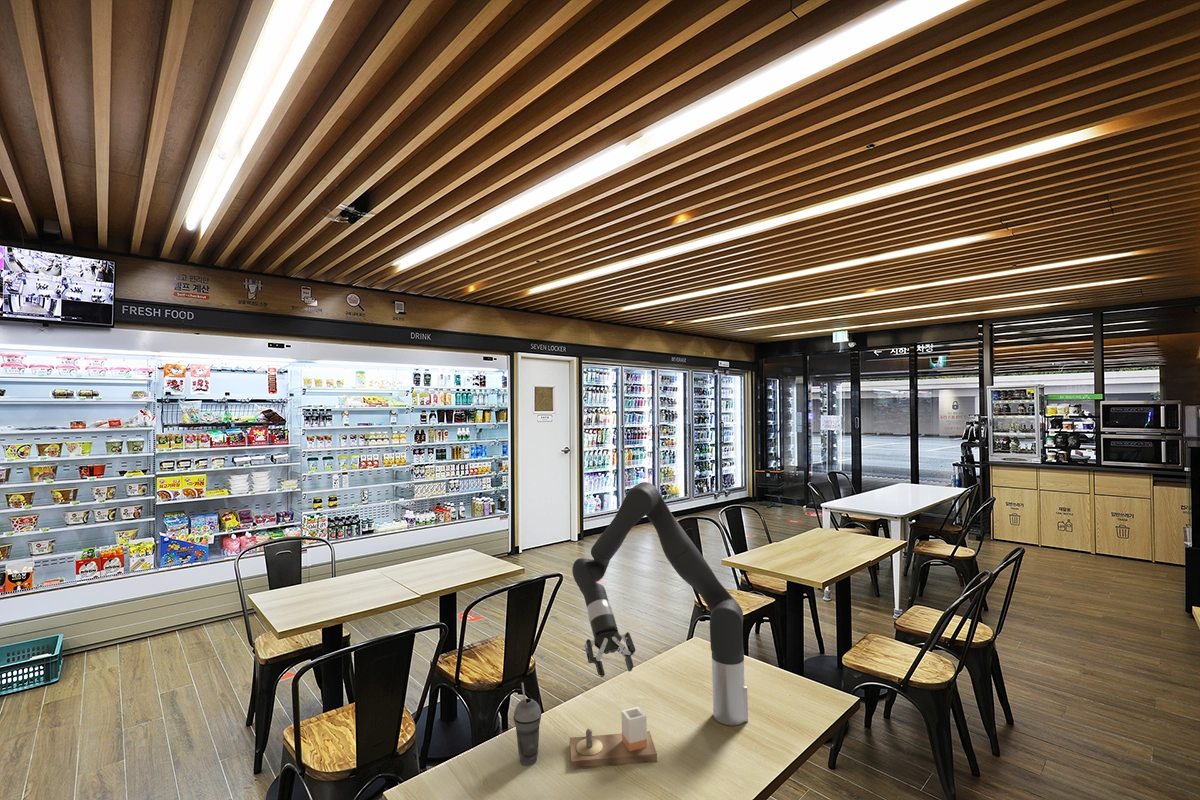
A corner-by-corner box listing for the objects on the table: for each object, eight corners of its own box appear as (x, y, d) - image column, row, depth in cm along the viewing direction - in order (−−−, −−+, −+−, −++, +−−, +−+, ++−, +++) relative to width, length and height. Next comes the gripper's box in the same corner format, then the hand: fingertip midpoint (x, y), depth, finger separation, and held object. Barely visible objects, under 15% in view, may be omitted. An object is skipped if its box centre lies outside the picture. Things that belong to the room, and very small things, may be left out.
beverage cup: (537, 771, 138) (535, 691, 139) (510, 768, 140) (508, 689, 140) (545, 753, 145) (544, 677, 146) (519, 750, 147) (518, 675, 147)
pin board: (649, 738, 151) (649, 713, 151) (657, 761, 141) (656, 734, 141) (569, 745, 149) (569, 719, 149) (571, 769, 139) (570, 742, 139)
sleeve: (622, 740, 147) (621, 710, 147) (639, 736, 149) (638, 706, 149) (629, 751, 142) (628, 720, 142) (647, 746, 144) (646, 716, 144)
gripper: (582, 616, 162) (596, 672, 151) (626, 609, 167) (643, 663, 156) (577, 628, 167) (590, 683, 156) (620, 620, 172) (636, 673, 161)
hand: (616, 673), depth 156 cm, fingers open, 8 cm apart
